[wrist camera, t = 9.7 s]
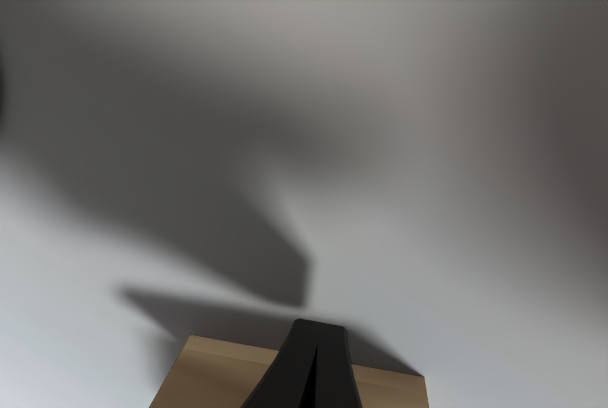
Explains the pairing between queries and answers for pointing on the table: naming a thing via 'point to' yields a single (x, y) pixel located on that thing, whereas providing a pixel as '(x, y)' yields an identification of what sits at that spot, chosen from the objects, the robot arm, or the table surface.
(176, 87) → the table surface
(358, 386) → the wooden toy
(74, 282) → the table surface
